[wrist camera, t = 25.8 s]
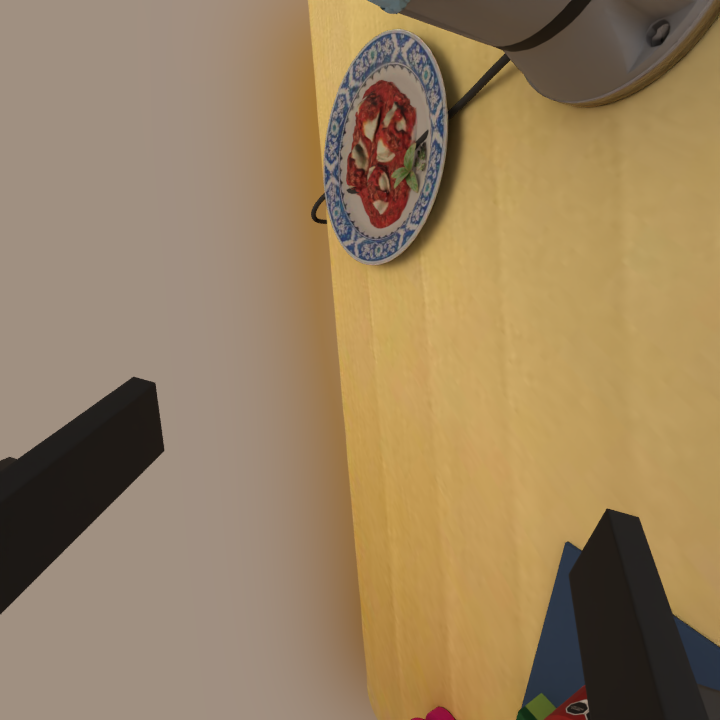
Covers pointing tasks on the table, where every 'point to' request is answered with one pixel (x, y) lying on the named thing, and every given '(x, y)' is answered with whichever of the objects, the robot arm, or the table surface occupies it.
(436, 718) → the pepper mill
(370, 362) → the table surface
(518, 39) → the robot arm
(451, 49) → the table surface
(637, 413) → the table surface
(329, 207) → the ceramic plate
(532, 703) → the scrubber
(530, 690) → the cloth
